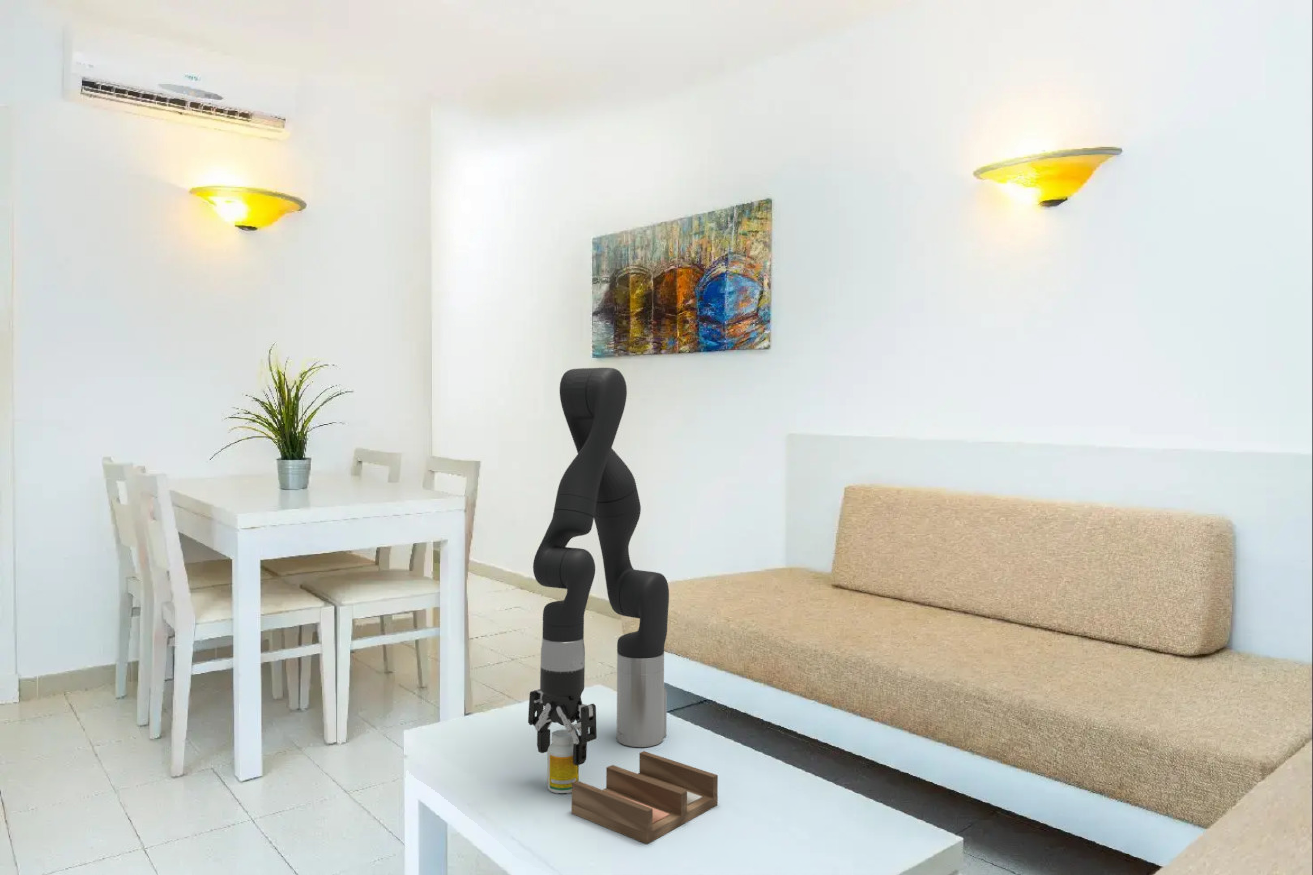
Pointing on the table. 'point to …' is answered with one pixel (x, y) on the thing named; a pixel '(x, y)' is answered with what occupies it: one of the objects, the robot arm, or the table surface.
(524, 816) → the table surface
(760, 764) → the table surface
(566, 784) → the supplement bottle
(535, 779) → the table surface
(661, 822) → the brown shelf rack
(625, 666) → the robot arm
